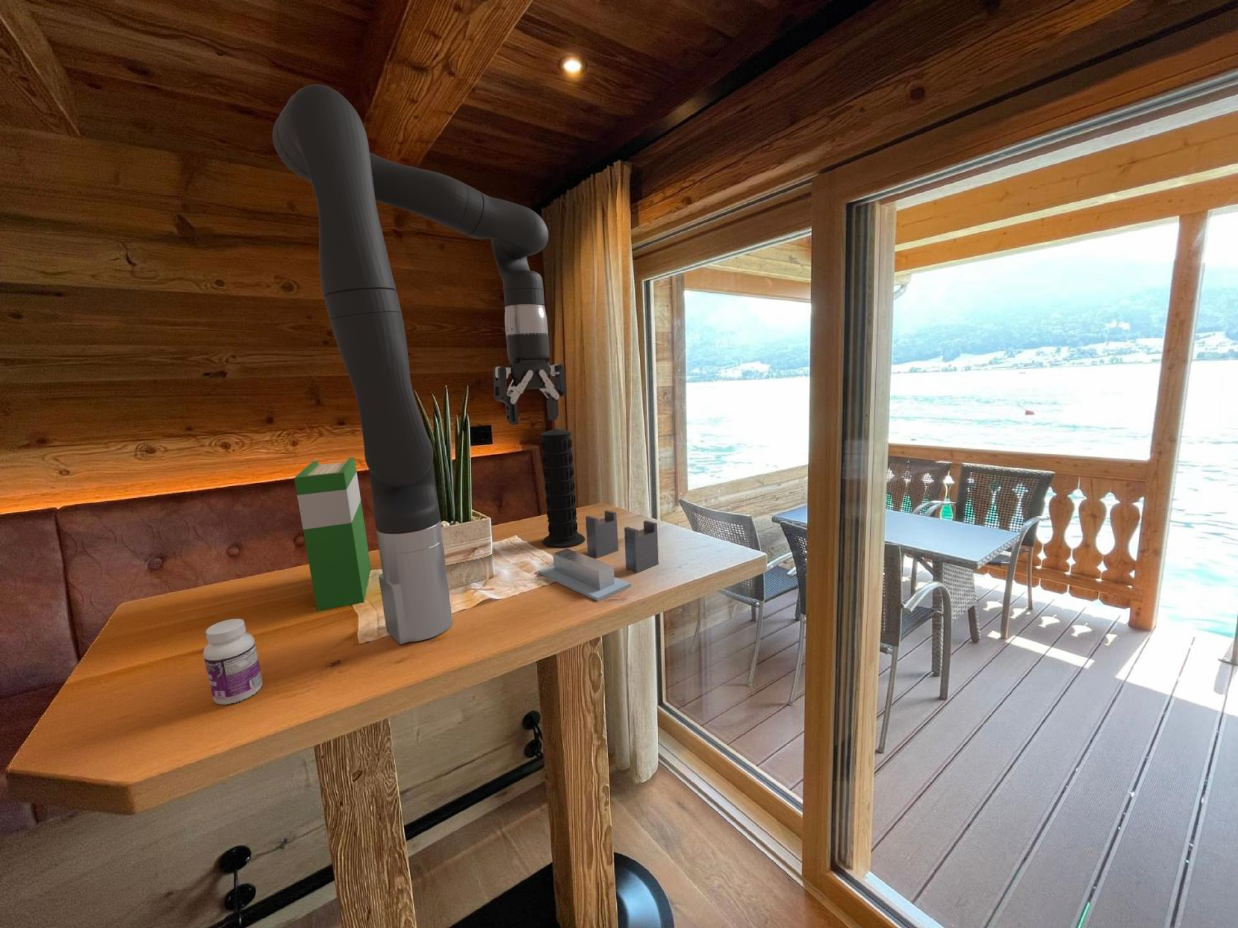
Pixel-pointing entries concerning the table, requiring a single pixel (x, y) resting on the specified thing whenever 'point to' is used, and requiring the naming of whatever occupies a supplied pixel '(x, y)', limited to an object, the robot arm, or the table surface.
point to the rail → (584, 569)
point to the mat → (583, 587)
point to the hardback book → (334, 533)
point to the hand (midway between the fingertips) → (534, 422)
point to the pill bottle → (231, 662)
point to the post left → (602, 534)
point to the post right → (641, 547)
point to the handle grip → (560, 490)
